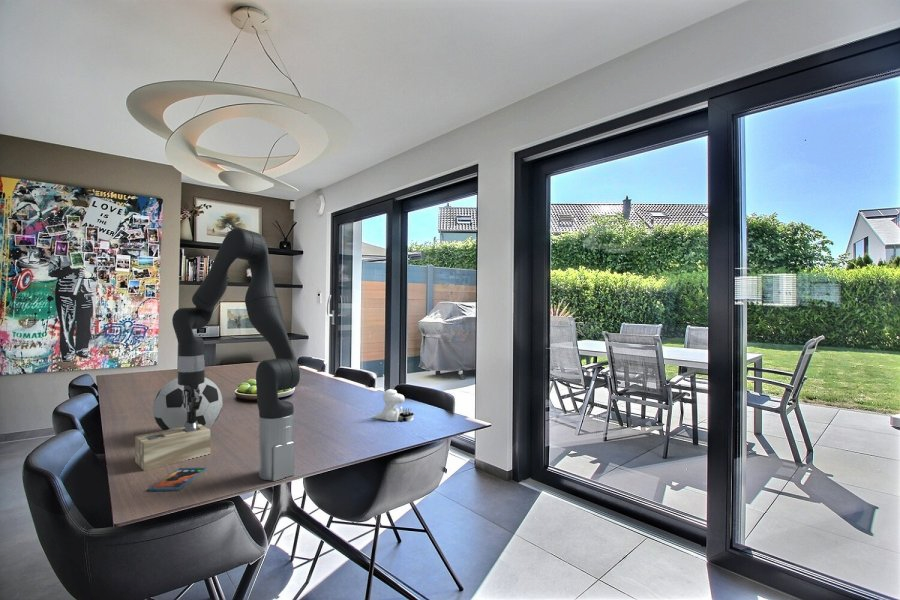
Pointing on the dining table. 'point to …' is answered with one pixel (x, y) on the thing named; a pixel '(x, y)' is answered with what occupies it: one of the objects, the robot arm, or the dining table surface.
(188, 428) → the inner peg
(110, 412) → the dining table surface
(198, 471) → the smartphone
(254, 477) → the dining table surface
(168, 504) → the dining table surface
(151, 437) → the outer peg
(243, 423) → the dining table surface
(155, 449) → the birch block
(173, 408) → the soccer ball
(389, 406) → the figurine
